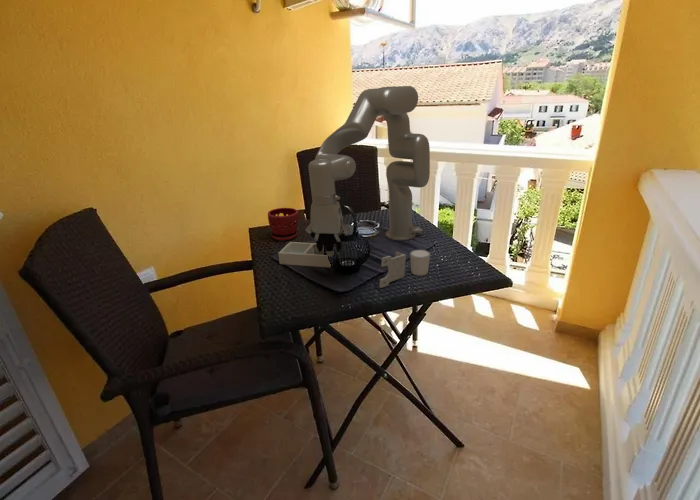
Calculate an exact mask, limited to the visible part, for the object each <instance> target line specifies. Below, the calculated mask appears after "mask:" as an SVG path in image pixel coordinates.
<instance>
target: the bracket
mask: <svg viewBox="0 0 700 500" xmlns="http://www.w3.org/2000/svg"><path fill="white" fill-rule="evenodd" d="M406 259H407V254H405V253H401V252H399V251H395V256H394V257H392V256H391V255H387V256H384V257H381V265H380V266H381V267H387V269H388V270H387V273H386V275H385V276H384V277H383V278H380V279H379V286H378V287H379V288H381V289H383V288H384V287H387V286H390V283H391V282H394V281H397V280H400V279H402V278H405V270H406V261H407V260H406Z"/></svg>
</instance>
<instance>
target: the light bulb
mask: <svg viewBox="0 0 700 500" xmlns="http://www.w3.org/2000/svg"><path fill="white" fill-rule="evenodd" d="M320 242H321V243H322V245H323V246H324V247H325V250H326V253H327V256H329V257H332V256H333V255H334V252H333V250H334V245H335V242H336V238H335V236H334V234H320Z"/></svg>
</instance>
